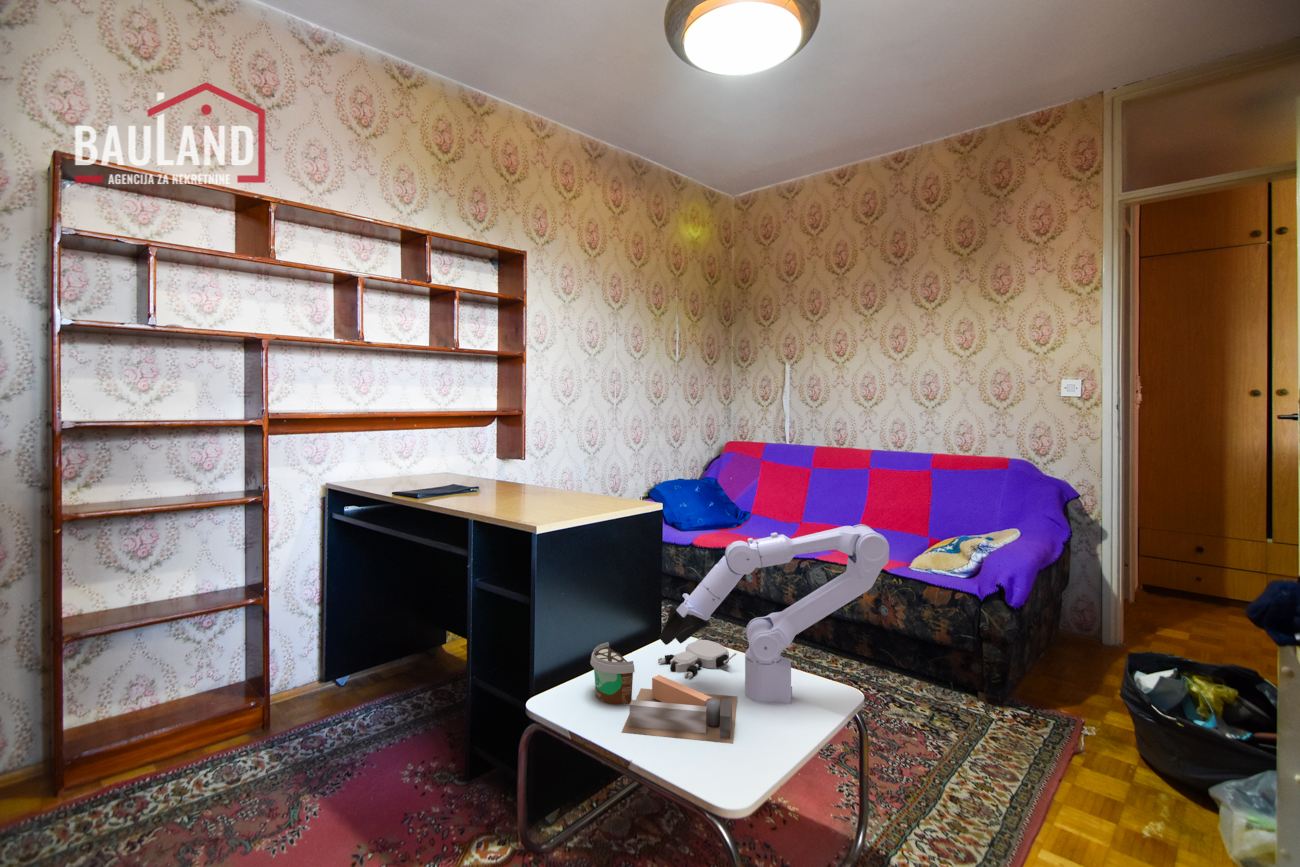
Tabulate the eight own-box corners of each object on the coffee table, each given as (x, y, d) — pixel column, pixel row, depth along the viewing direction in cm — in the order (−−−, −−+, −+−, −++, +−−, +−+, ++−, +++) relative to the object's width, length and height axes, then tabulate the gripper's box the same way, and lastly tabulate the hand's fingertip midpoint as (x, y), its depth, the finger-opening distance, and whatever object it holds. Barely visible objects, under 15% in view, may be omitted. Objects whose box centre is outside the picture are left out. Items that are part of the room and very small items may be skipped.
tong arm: (722, 722, 113) (723, 701, 113) (713, 727, 111) (714, 706, 111) (660, 693, 125) (660, 674, 125) (651, 697, 123) (651, 678, 123)
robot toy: (689, 691, 132) (739, 668, 141) (688, 670, 131) (738, 649, 140) (655, 671, 142) (703, 651, 150) (653, 652, 141) (702, 633, 150)
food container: (581, 694, 128) (580, 646, 128) (607, 687, 131) (607, 641, 131) (606, 719, 117) (606, 668, 117) (634, 712, 120) (634, 661, 120)
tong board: (737, 702, 124) (737, 677, 124) (733, 750, 107) (733, 720, 107) (640, 693, 128) (640, 669, 128) (621, 739, 110) (621, 710, 110)
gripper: (710, 579, 134) (671, 625, 135) (685, 575, 121) (642, 626, 122) (733, 602, 130) (693, 650, 131) (710, 600, 118) (666, 653, 119)
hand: (670, 640), depth 126 cm, fingers open, 7 cm apart
